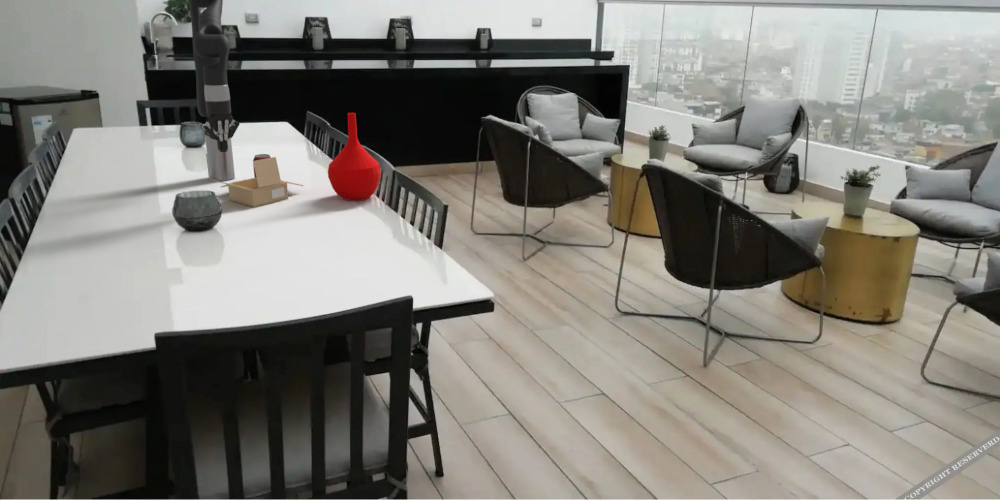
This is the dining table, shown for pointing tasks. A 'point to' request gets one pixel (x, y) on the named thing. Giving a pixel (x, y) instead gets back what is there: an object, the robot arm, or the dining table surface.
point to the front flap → (267, 172)
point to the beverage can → (259, 157)
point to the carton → (257, 192)
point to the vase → (354, 168)
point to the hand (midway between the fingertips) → (223, 151)
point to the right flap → (226, 183)
